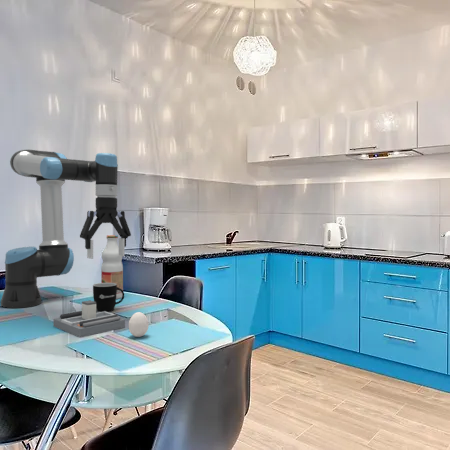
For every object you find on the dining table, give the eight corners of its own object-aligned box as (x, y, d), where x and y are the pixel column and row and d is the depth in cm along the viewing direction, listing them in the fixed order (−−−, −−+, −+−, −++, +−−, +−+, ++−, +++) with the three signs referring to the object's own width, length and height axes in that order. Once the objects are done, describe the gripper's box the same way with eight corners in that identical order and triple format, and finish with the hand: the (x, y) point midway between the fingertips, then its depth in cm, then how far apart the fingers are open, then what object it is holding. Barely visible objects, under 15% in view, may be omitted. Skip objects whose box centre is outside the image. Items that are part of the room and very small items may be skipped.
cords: (83, 327, 131) (83, 322, 131) (60, 318, 142) (60, 314, 142) (120, 320, 141) (120, 315, 141) (96, 312, 152) (96, 307, 152)
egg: (131, 333, 134) (131, 309, 134) (150, 334, 134) (150, 310, 134) (126, 339, 128) (126, 314, 128) (146, 339, 128) (146, 314, 128)
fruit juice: (122, 299, 187) (122, 235, 186) (100, 300, 185) (99, 235, 184) (123, 295, 196) (123, 234, 195) (102, 295, 194) (102, 234, 194)
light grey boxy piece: (81, 318, 142) (81, 301, 142) (90, 316, 144) (90, 300, 144) (87, 320, 139) (87, 303, 139) (96, 318, 142) (96, 302, 141)
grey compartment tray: (53, 326, 142) (53, 316, 142) (96, 317, 154) (96, 308, 154) (79, 337, 130) (79, 326, 130) (125, 327, 142) (125, 317, 142)
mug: (95, 313, 160) (95, 287, 160) (91, 309, 168) (91, 283, 168) (126, 310, 165) (127, 284, 165) (121, 306, 173) (121, 281, 173)
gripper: (80, 195, 141) (80, 260, 141) (140, 197, 158) (140, 255, 159) (69, 196, 146) (69, 258, 146) (129, 198, 163) (128, 254, 164)
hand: (106, 257), depth 153 cm, fingers open, 12 cm apart
